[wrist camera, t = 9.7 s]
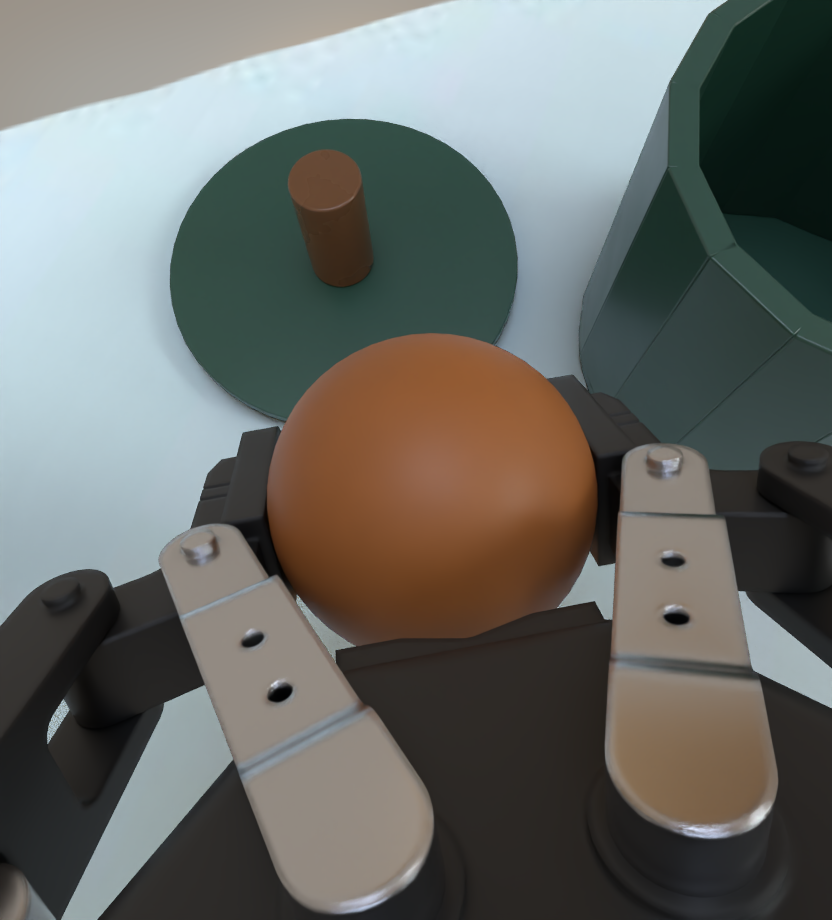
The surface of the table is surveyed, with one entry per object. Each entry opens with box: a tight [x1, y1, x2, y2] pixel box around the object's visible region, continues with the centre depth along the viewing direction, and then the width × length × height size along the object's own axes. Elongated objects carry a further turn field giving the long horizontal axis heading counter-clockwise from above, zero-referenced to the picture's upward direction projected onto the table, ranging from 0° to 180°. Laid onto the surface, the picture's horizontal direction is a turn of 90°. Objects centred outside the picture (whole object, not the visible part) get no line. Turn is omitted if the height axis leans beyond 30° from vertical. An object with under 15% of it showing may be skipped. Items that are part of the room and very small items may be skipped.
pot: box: [579, 0, 832, 470], centre depth 23 cm, size 14×14×12 cm
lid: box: [170, 119, 518, 421], centre depth 27 cm, size 15×15×6 cm
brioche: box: [267, 333, 598, 646], centre depth 13 cm, size 5×5×10 cm
